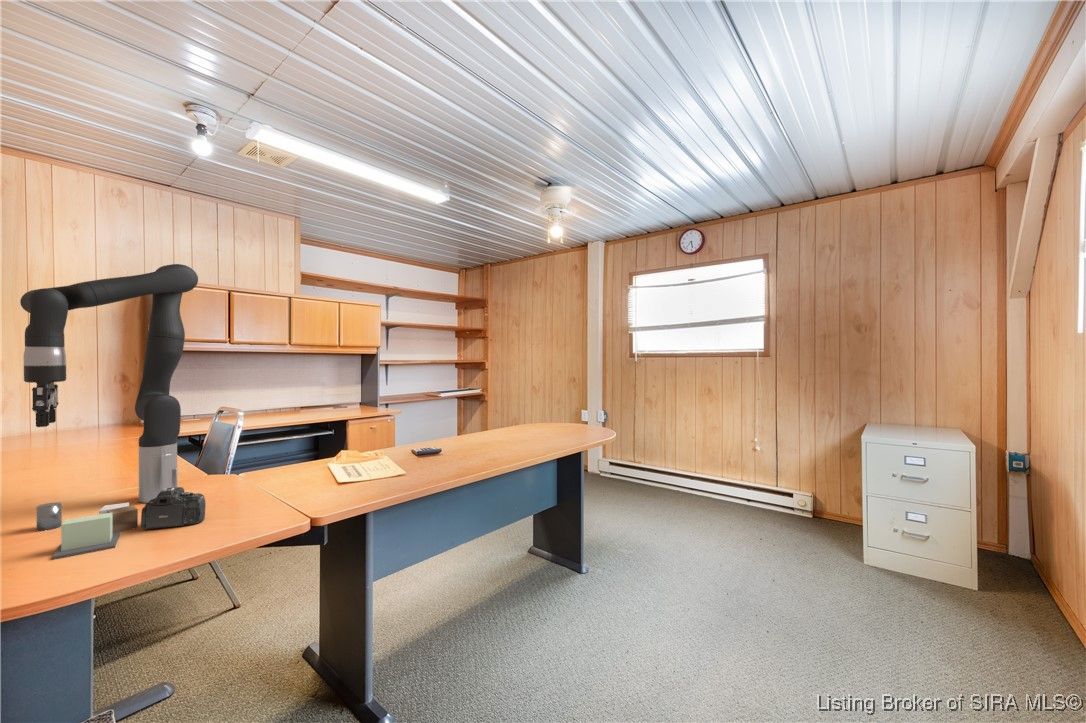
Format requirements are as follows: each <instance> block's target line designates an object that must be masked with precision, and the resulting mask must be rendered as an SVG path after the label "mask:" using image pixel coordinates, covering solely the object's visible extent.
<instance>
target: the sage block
mask: <svg viewBox="0 0 1086 723" xmlns="http://www.w3.org/2000/svg"><path fill="white" fill-rule="evenodd" d="M60 531H61V532H60V533H61V534H60V535H61V540H60V541H61V542H60V545H61V551H64V550H69V549H75V548H80V547H86V546H91V545H96V544H102V543H107V542H110V541H111V539H112V537H113V530H112V513H106V514H99V513H98V514H95V515H87V516H80V517H73V518H68V519H64V521H63V522H62V525H61V528H60Z"/></svg>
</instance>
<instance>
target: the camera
mask: <svg viewBox="0 0 1086 723" xmlns="http://www.w3.org/2000/svg"><path fill="white" fill-rule="evenodd" d="M206 507H207V506H206V497H205V495H204V494H202V493H199V492H196V493H194V492H192V491H186V492H185V489H184V487H181V486H177V487H172V488H166V489H163V490H162V491H161V492H160V493H159V494H158V495H157V497H156V498H155V499H151V500H150V501H149V502H148V503H146V504H145V505H144V506H143V507H142V508H141V514H140V515H141V516H140V520H141V521H140V524H141V525H140V526H141V529H143V530H151V529H161V528H162V529H163V528H172V527H175V528H176V527H183V526H190V525H197V524H199V523H203V521H204V520H205V517H206Z"/></svg>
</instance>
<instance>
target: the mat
mask: <svg viewBox="0 0 1086 723" xmlns="http://www.w3.org/2000/svg"><path fill="white" fill-rule="evenodd" d="M120 536H121V532H116V533H113V537H112V539H111V541H110V542H107V543H102V544H96V545H91V546H86V547H80V548H75V549H69V550H64V551H61V544H60V545H59V546H58V548H57V549H56V551H55V552H54V553H53V555H52V557H51V558H52V559H51V560H58V559H62V558H67V557H74V556H79V555H84V554H88V553H93V552H98V551H100V552H101V551H104V550H109V549H115V548H116V547H117V546H116V545H117V544H118V541H119V538H120Z"/></svg>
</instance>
